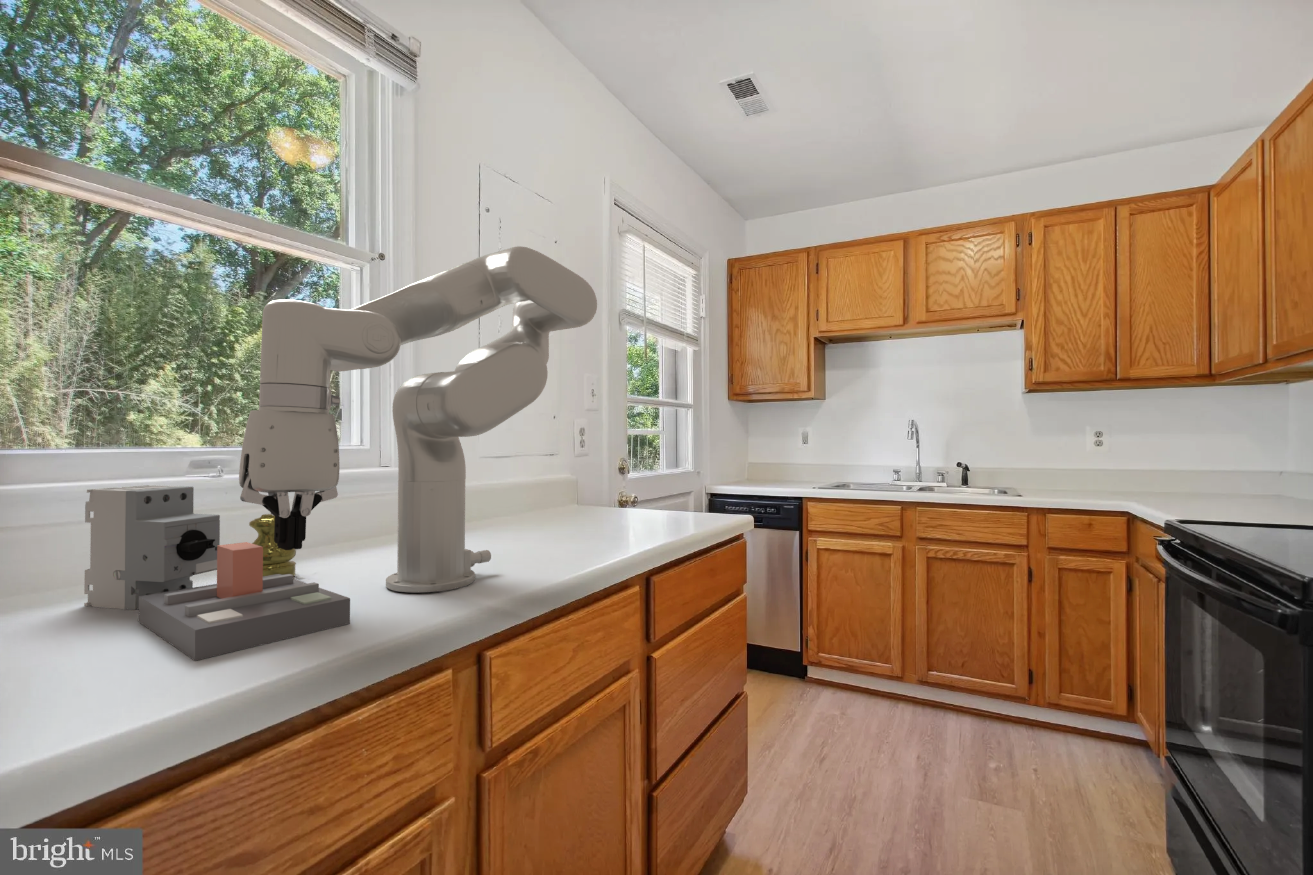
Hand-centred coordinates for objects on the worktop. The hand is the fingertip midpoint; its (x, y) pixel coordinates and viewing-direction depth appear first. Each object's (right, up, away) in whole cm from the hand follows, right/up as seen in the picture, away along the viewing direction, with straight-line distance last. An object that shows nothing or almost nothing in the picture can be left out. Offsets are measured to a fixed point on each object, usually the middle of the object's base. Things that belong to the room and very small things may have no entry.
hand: (289, 548), depth 74 cm
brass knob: (-14, -8, +18) cm, 24 cm away
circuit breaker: (-20, -8, +5) cm, 22 cm away
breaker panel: (-3, -8, -4) cm, 9 cm away
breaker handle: (-3, -5, -4) cm, 7 cm away
